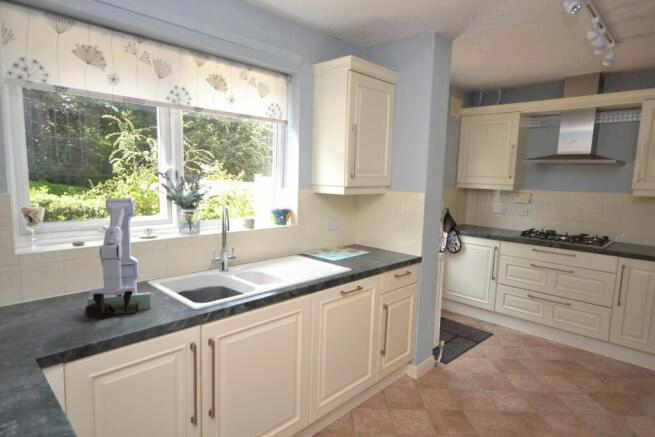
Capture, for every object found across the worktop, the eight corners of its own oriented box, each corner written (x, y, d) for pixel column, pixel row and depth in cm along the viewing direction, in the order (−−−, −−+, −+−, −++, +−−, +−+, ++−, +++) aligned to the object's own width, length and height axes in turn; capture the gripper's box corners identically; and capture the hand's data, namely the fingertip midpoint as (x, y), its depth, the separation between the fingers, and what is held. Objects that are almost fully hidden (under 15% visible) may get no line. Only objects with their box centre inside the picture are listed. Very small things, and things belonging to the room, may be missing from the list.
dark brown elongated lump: (138, 310, 149) (138, 296, 149) (136, 316, 143) (135, 302, 142) (87, 314, 144) (86, 300, 143) (82, 321, 138) (81, 306, 137)
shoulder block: (90, 311, 147) (89, 294, 146) (151, 306, 153) (151, 290, 153) (88, 314, 144) (87, 297, 143) (150, 308, 151) (150, 292, 150)
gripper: (86, 281, 131) (88, 318, 133) (132, 278, 135) (134, 314, 137) (92, 275, 138) (94, 311, 139) (135, 273, 142) (137, 307, 144)
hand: (114, 312), depth 139 cm, fingers open, 7 cm apart
